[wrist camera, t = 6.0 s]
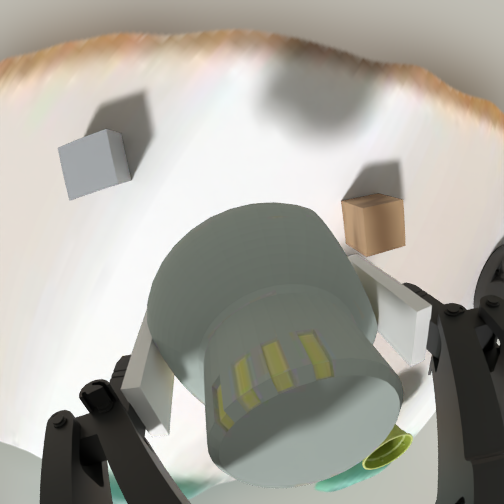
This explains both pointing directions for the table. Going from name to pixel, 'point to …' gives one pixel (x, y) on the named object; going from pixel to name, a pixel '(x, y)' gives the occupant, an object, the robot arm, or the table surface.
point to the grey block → (94, 163)
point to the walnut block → (374, 223)
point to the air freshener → (274, 345)
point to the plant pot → (388, 449)
